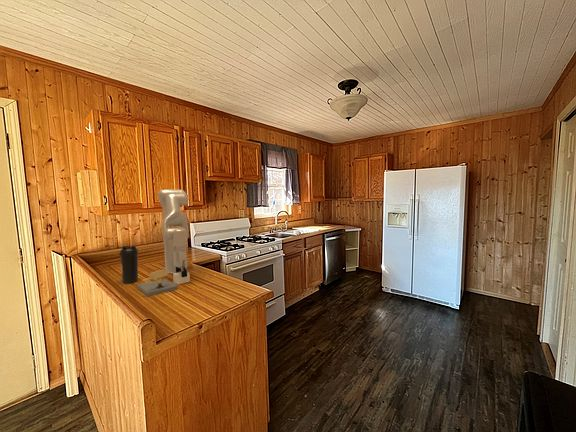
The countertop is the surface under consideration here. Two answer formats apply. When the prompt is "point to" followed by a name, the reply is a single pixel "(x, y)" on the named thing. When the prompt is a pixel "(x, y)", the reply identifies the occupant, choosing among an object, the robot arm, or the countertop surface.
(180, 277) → the cream rectangular block
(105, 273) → the countertop surface
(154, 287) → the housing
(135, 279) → the water bottle
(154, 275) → the key
